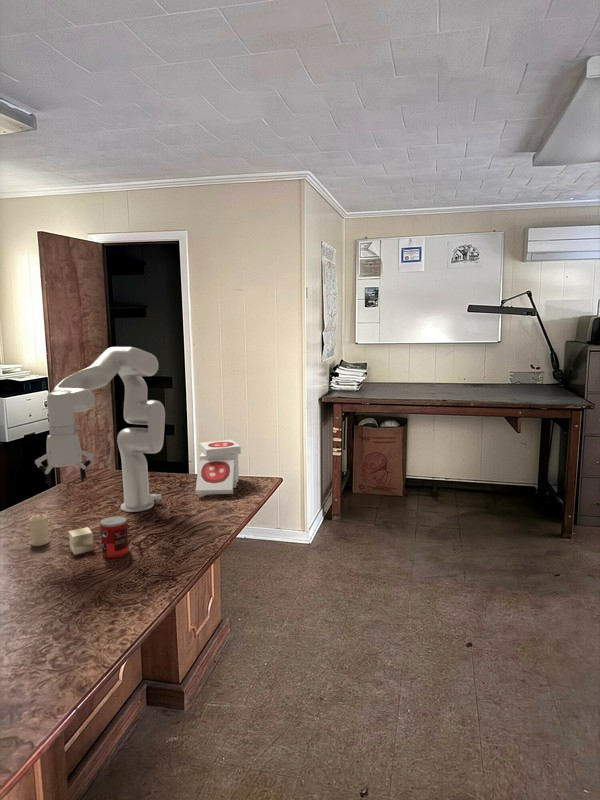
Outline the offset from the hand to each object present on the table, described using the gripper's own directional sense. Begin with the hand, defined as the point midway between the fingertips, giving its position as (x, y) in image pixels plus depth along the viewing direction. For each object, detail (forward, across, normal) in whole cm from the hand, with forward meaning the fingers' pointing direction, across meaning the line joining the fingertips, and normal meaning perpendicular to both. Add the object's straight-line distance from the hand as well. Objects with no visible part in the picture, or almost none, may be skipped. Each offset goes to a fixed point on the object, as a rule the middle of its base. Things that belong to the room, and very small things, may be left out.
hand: (66, 482), depth 185 cm
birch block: (+22, -3, +3) cm, 22 cm away
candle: (+22, +9, -10) cm, 26 cm away
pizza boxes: (+21, -63, -38) cm, 77 cm away
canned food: (+22, -12, +12) cm, 28 cm away
